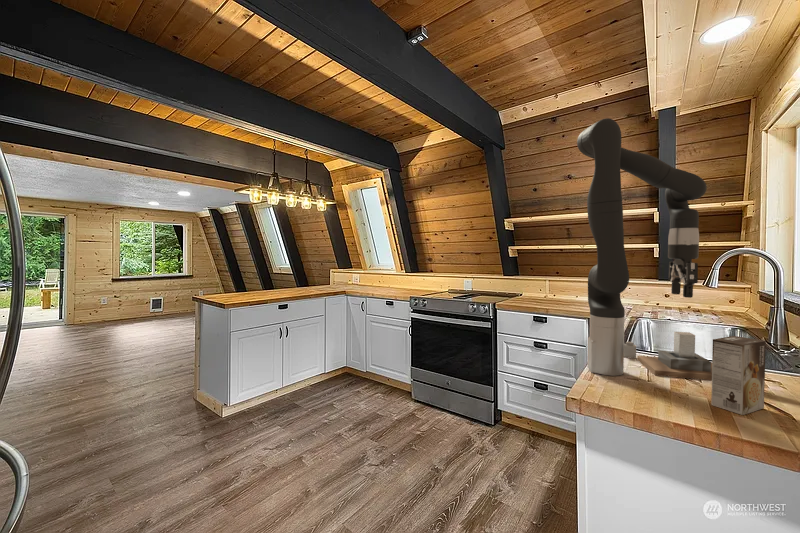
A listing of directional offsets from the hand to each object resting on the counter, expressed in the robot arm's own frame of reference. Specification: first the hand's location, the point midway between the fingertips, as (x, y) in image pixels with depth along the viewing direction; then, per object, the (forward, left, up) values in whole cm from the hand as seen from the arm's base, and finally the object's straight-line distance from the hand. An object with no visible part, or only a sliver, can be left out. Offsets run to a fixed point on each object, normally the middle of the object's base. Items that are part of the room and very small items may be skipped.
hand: (681, 295), depth 114 cm
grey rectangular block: (-12, +11, -23) cm, 29 cm away
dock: (+1, -1, -23) cm, 23 cm away
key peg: (+1, -1, -22) cm, 22 cm away
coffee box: (+1, -29, -23) cm, 37 cm away
